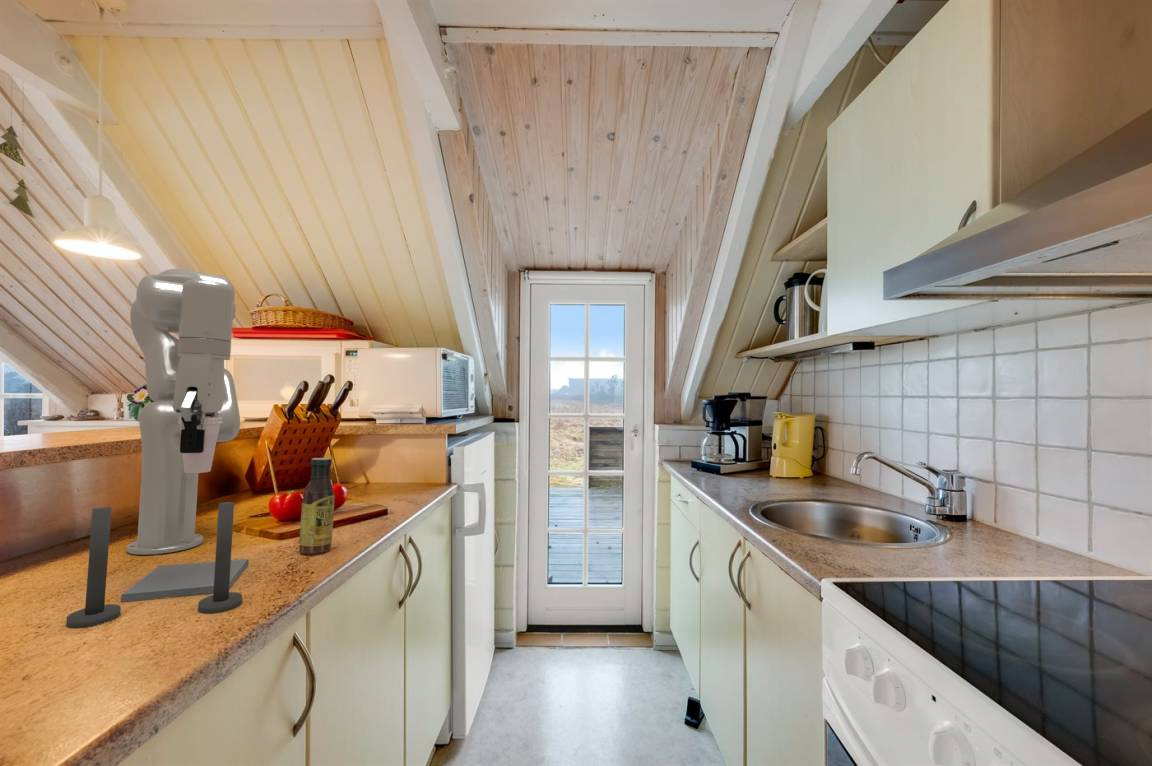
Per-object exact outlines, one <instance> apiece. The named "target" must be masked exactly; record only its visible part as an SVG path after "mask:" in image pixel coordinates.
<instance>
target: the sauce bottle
mask: <svg viewBox="0 0 1152 766" xmlns="http://www.w3.org/2000/svg"><path fill="white" fill-rule="evenodd" d="M332 463H333V459H332V458H331V457H313V458H311V459H310V466H311V468H310V469H311V471H310V477H309V478H310V480H309V482H308V483H307V485H306V486H305V488H304V489H303V493H302V502H301V514H300V515H301V516H300V523H299V524H300V527H299V539H298V545H299V553H300V554H302V555H317V554H322V553H323V554H324V553H326V552H328V551H329V550H330V549H331V546H332V542H333V530H334V529H333V528H334V527H333V526H334V519H335V518H334V517H335V516H334V515H335V501H336V495H335V491H334V488H333V484H332V481H331V466H332V465H333V464H332Z"/></svg>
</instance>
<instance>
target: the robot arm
mask: <svg viewBox="0 0 1152 766" xmlns="http://www.w3.org/2000/svg"><path fill="white" fill-rule="evenodd" d="M235 291H236V290H235V287H234V286H233V283H232V282H231V281H230V280H229V279H228V278H227V277H224V276H222V275H217V274H211V273H204V272H200V271H199V272H198V271H194V270H188V269H183V268H170V269H166V270H163V271H161V272H160V273H159V274H147V275H144V276H143V277H142V279H141V280H140V281H139V282H138V286H137V289H136V293H135V294H136V295H135V296H136V299H135V300H134V301H133V302H132V304H131V307H130V312H129V314H130V315H129V319H130V325H131V326H130V327H131V330H132V334H133V337H134V339H135V341H136V343H137V345H138V347H139V348H140V350H141V352H142V355H143V356H144V364H145V365H144V367H145V382H146V383H145V384H146V391H147V394H148V396H149V397H148V398H150V400H152V401H151V402H149V403H147V404H145V405H144V406H143V407H142V408H141V410H140V413H139V419H138V424H139V431H140V439H141V440H140V441H141V451H142V452H141V455H142V457H141V477H140V489H139V490H140V493H139V507H138V508H139V511H138V522H137V523H138V526H137V539H136V540H135V541H132V542H130V543H129V544H127V545H126V552H127V553H128V554H132V555H139V556H141V555H142V556H143V555H149V556H151V555H161V554H170V553H175V552H180V551H184V550H188V549H191V548H194V547H197V546H199V545H201V544H202V543H203V542H204V536H203V535H201V534H199V533H196V523H197V522H196V520H197V518H196V517H197V505H198V504H197V502H198V486H199V485H198V484H199V473H185V472H184V463H183V453H202V452H203V451H204V435H205V430H202V428H203V423H204V418H205V416H213V417H222V422H223V423H220V427H219V433H218V437H217V442H216V445H217V443H220V442H221V443H223V442H229V441H232V440H233V439H235V438H236V437H237V436H238V434H239V432H240V430H241V429H240V428H241V417H240V409H239V403H238V398H237V397H238V396H237V391H236V387H235V386H236V385H235V381H234V378H233V375H232V373H231V372H230V371H229V370H227V368H225V361H231V353H232V352H231V351H232V350H231V349H232V335H233V334H232V333H233V322H234V319H235V316H236V312H237V311H236V302H235V298H236V297H235V296H236V293H235ZM172 334H178V338H177V337H175V336H174V335H172ZM197 416H199V417H198V420H197ZM178 417H181V420H182V423H181V432H180V423H177V422H178ZM216 448H217V446H216V447H215V449H216Z"/></svg>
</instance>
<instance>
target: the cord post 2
mask: <svg viewBox="0 0 1152 766" xmlns="http://www.w3.org/2000/svg"><path fill="white" fill-rule="evenodd" d="M217 509H218V510H217V512H218V513H217V526H216V528H217V529H216V530H217V531H216V544H215V560H214V562H215V575H214V592H213V593H212V594H213V595H209V596H206V597H204V598H202V599H201V600H199V601H198V604H197V611H198V613H202V614H219V613H222V612H227V611H231V610H233V609H236V608H238V607H239V606H240V605H242V604H243V594H242V593H241V592H236V591H235V592H233V591H231V592H230V588H229V584H230V566H231V560H232V547H233V546H232V545H233V528H234V512H235V511H234V510H235V502H233V501H227V502H226V501H225V502H220V503H218V508H217Z"/></svg>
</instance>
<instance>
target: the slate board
mask: <svg viewBox="0 0 1152 766" xmlns="http://www.w3.org/2000/svg"><path fill="white" fill-rule="evenodd" d="M249 560H250V558H245V559H244V558H241V559H231V566H230V584H229V589H231V587H232V586H233V585H234V583H235V582H236V581H237V580H238V579H239V577H240V576H241V575H242V574H243V572H244V571H245V570H246V569H245V568H247V567H249ZM244 569H245V570H244ZM214 575H215V561H204V562H193V563H191V562H190V563H180V564H179V563H178V564H168V565H166V564H165V565H159V566H157V567H156V568H155V569H154V570H152V571H151V572H150V573H148V574H147V575H145V576H143V578H141V579H140V580H138V581H137V582H136V583H135V584H133V585H132V586H131V587H129V588H128V589H126V590H125V591H124V592H122V594H121V595H120V596H121V597H120V603H125V602H127V601H128V602H135V600H139V601H146V600H145V599H149V600H155V599H154V598H159V599H166V598H165V597H169V598H177V597H178V596H179V597H187V596H189V595H190V596H197V595H198V596H199V595H208V594H213V592H214ZM179 597H178V598H179Z"/></svg>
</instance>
